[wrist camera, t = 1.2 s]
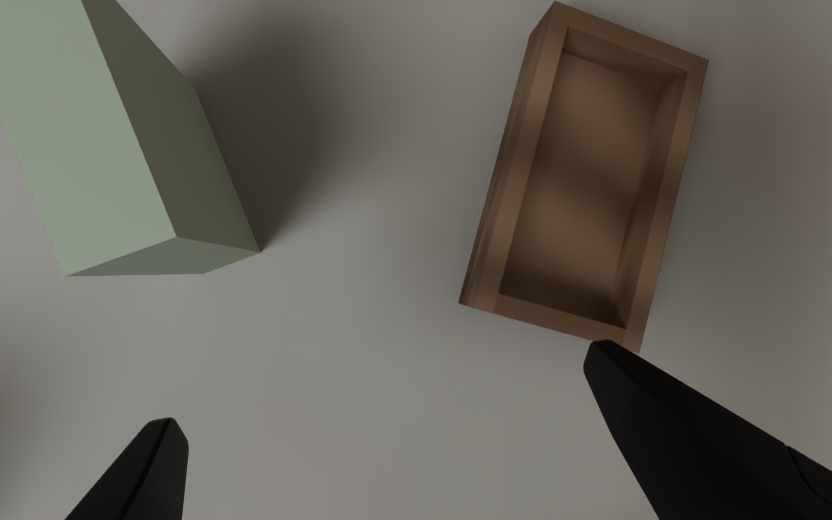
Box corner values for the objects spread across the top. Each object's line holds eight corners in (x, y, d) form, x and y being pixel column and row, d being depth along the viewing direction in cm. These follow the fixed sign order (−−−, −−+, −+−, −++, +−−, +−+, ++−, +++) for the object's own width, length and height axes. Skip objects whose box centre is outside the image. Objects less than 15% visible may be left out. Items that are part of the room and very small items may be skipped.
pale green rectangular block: (260, 252, 21) (176, 236, 11) (203, 273, 21) (64, 276, 11) (195, 89, 21) (52, -70, 11) (136, 107, 21) (-67, -42, 11)
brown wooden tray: (604, 343, 24) (639, 353, 21) (458, 303, 23) (473, 308, 20) (666, 85, 25) (708, 60, 22) (530, 34, 24) (554, 0, 21)
